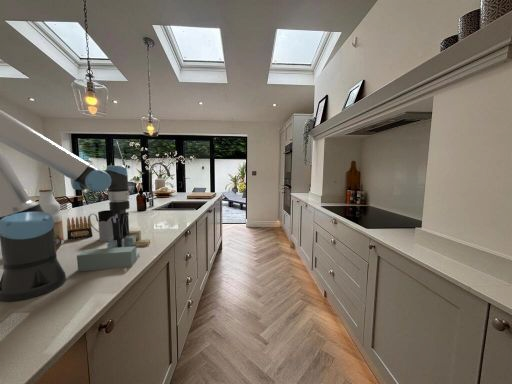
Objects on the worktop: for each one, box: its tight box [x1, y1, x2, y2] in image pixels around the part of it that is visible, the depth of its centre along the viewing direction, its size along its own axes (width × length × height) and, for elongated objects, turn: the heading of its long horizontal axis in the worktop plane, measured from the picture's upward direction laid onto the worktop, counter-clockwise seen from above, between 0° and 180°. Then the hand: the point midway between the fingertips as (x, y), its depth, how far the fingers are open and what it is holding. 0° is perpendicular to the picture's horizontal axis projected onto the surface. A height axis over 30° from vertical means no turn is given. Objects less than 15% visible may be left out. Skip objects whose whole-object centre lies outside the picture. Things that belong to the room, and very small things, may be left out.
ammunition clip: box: [66, 215, 94, 241], centre depth 120 cm, size 11×2×12 cm, turn 122°
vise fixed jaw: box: [76, 246, 141, 272], centre depth 87 cm, size 10×18×6 cm, turn 102°
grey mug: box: [88, 209, 114, 242], centre depth 119 cm, size 9×14×15 cm, turn 89°
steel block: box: [107, 235, 137, 251], centre depth 99 cm, size 4×10×7 cm, turn 102°
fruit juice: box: [37, 188, 65, 246], centre depth 107 cm, size 9×9×28 cm
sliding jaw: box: [106, 230, 151, 248], centre depth 109 cm, size 7×18×6 cm, turn 102°
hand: (123, 251), depth 99 cm, fingers open, 4 cm apart
